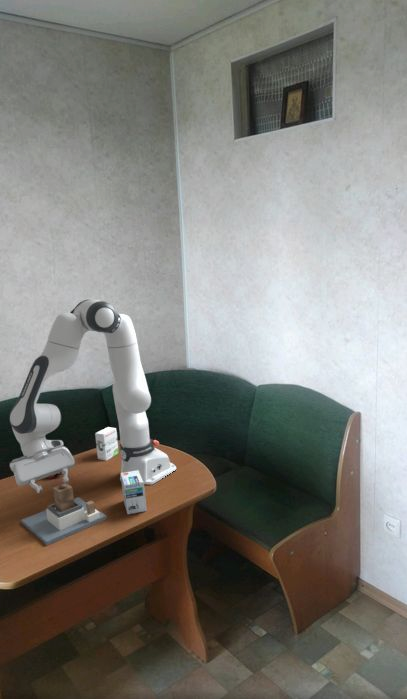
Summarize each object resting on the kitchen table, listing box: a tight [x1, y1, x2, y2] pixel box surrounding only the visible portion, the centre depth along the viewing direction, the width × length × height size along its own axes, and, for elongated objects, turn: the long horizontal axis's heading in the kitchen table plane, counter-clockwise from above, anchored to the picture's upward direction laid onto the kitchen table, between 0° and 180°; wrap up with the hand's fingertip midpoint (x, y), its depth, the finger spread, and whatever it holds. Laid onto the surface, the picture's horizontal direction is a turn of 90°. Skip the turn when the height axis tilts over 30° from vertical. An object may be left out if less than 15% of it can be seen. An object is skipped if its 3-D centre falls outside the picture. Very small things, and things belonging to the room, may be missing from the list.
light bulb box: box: [120, 470, 148, 515], centre depth 182 cm, size 11×7×11 cm, turn 17°
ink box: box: [94, 426, 120, 461], centre depth 226 cm, size 9×5×12 cm, turn 150°
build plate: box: [20, 497, 107, 546], centre depth 175 cm, size 21×19×7 cm
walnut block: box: [52, 483, 75, 512], centre depth 173 cm, size 4×4×8 cm
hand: (53, 487), depth 177 cm, fingers open, 8 cm apart
